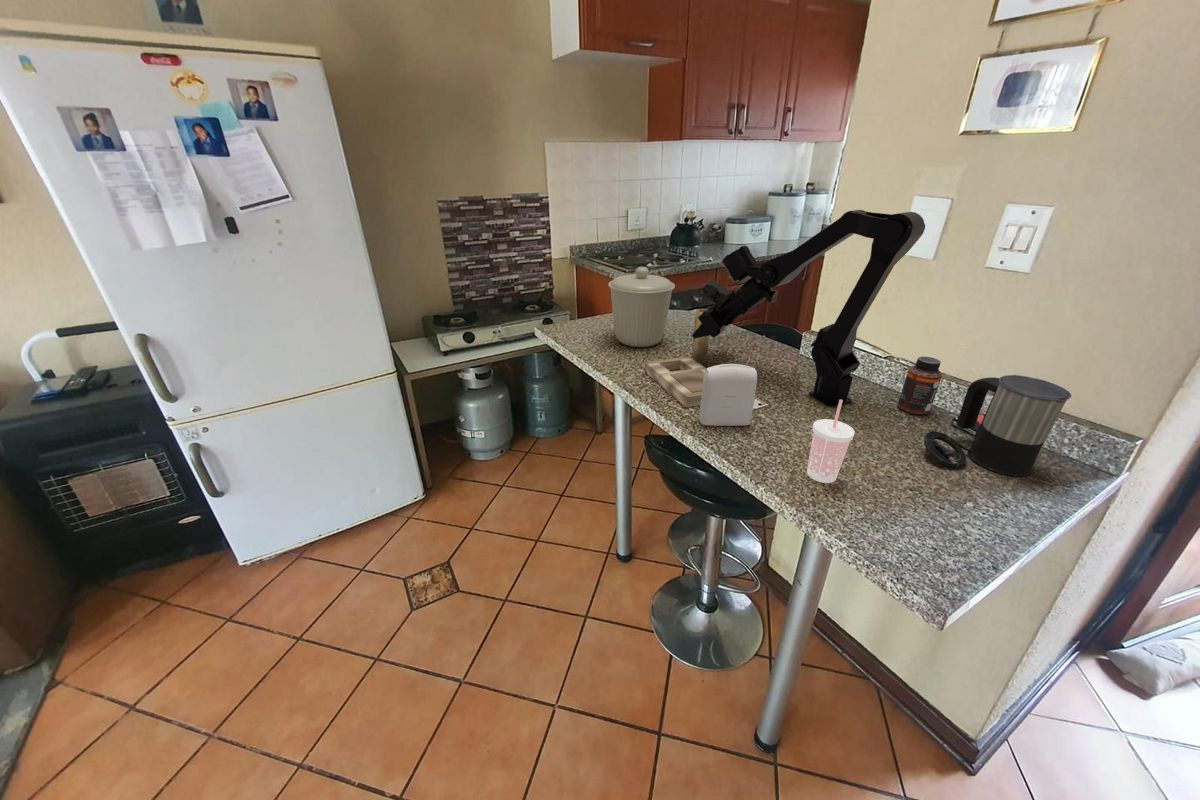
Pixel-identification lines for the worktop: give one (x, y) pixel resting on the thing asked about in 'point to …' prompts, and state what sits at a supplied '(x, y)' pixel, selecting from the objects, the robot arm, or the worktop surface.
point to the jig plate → (679, 378)
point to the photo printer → (728, 395)
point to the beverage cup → (828, 448)
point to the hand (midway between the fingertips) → (696, 334)
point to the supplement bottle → (920, 386)
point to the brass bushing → (699, 341)
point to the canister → (640, 307)
